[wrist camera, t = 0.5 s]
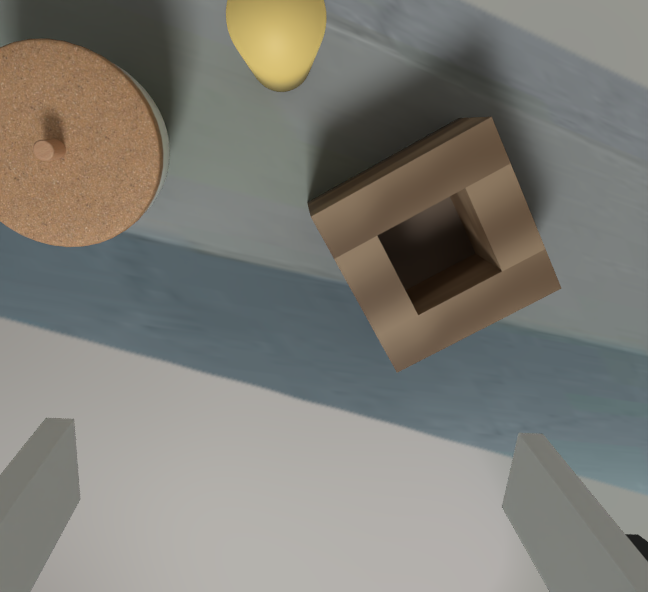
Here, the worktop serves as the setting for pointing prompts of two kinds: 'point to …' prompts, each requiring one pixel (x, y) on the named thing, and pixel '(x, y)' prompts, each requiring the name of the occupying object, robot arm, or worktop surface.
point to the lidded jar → (75, 144)
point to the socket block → (436, 240)
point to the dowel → (277, 38)
